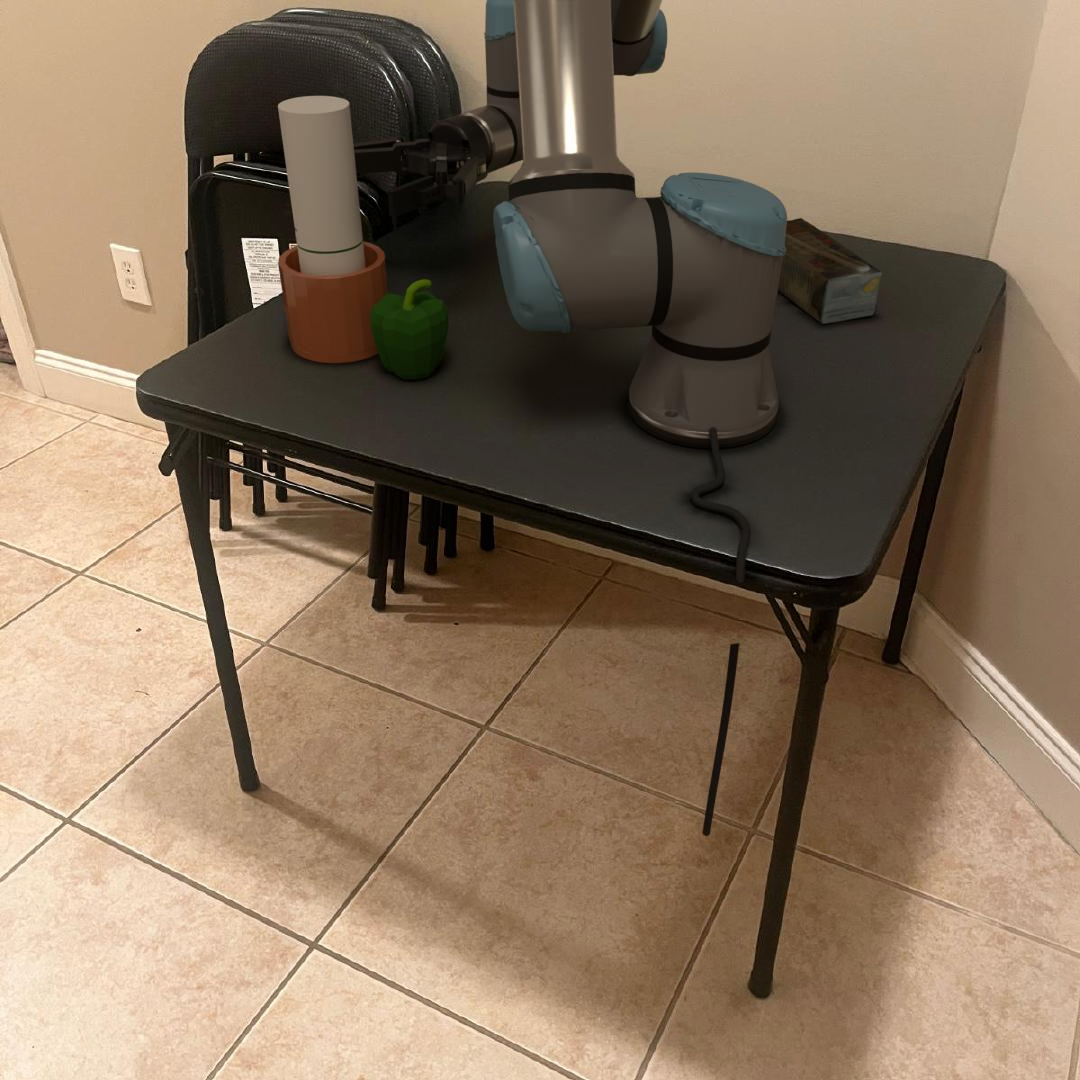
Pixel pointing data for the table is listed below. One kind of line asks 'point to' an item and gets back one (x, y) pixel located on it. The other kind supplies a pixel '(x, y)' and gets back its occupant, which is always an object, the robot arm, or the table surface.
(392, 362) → the bell pepper
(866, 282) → the beverage carton
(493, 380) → the table surface
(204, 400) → the table surface
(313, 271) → the cylindrical container
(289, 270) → the crock
